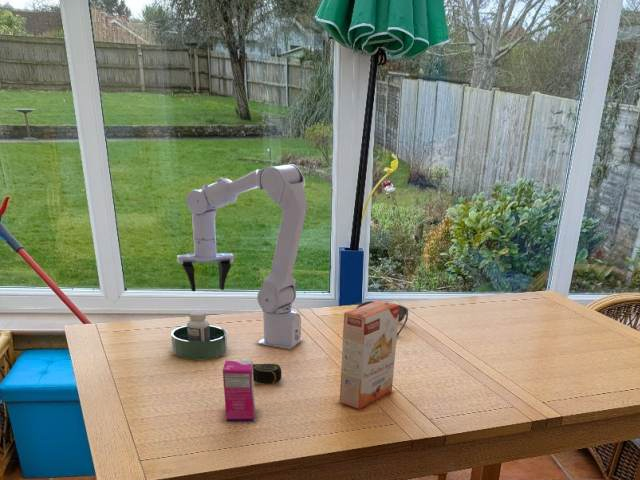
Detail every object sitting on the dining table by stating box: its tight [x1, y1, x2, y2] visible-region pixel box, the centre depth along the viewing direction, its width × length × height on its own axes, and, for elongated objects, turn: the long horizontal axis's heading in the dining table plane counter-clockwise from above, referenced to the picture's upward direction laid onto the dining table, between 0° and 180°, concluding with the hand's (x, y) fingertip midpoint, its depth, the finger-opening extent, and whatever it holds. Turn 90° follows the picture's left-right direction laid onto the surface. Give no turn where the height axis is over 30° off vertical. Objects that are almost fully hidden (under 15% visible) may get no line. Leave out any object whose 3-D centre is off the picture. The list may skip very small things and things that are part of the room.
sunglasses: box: [354, 300, 409, 338], centre depth 211 cm, size 16×17×5 cm
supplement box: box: [222, 359, 256, 423], centre depth 150 cm, size 6×6×12 cm
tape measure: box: [253, 363, 282, 385], centre depth 169 cm, size 7×7×4 cm
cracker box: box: [339, 299, 400, 410], centre depth 160 cm, size 14×6×21 cm, turn 148°
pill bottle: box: [186, 309, 210, 342], centre depth 182 cm, size 5×5×10 cm
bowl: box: [170, 324, 228, 361], centre depth 183 cm, size 13×13×5 cm
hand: (207, 289), depth 197 cm, fingers open, 7 cm apart
